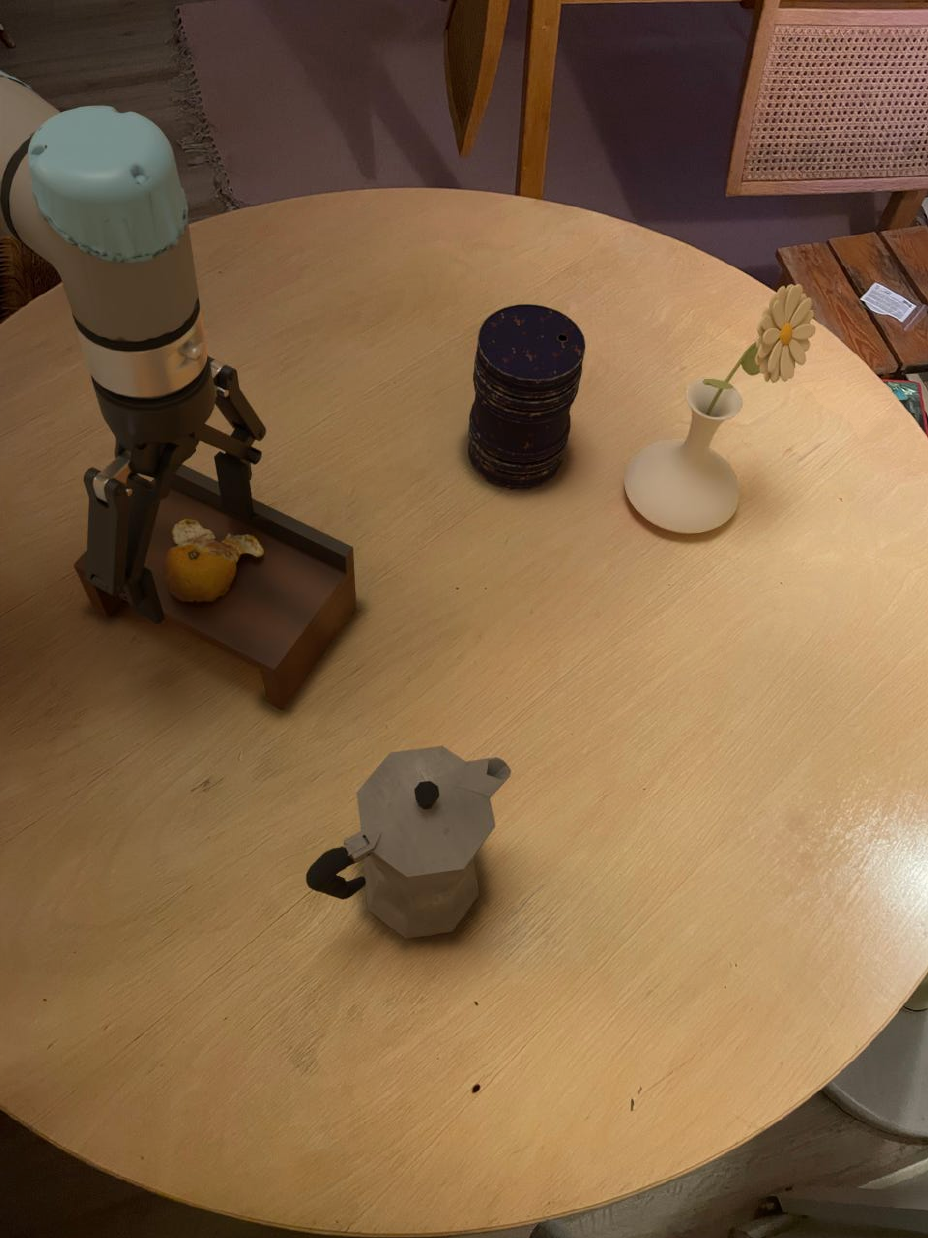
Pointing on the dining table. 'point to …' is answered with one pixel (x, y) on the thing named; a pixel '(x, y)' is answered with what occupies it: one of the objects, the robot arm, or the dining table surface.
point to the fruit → (204, 561)
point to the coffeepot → (417, 839)
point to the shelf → (253, 586)
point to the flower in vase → (689, 469)
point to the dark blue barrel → (523, 395)
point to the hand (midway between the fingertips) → (195, 561)
